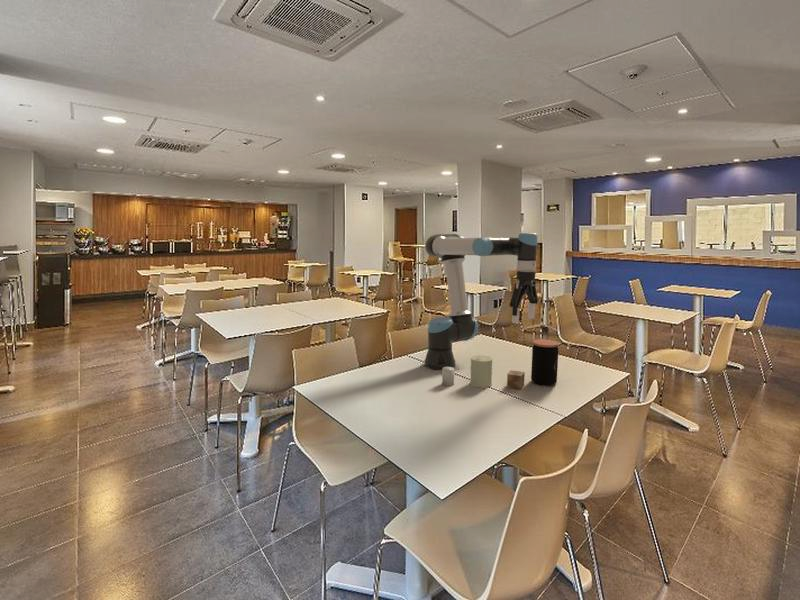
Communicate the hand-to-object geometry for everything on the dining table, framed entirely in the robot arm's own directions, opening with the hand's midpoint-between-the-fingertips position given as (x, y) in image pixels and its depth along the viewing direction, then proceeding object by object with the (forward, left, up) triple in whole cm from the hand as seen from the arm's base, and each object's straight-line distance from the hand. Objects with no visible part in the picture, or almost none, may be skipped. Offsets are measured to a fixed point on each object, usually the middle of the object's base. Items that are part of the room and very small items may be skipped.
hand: (523, 320), depth 183 cm
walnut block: (+1, -5, -28) cm, 28 cm away
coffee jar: (+7, +8, -28) cm, 30 cm away
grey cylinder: (-21, -23, -28) cm, 42 cm away
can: (-11, -13, -28) cm, 33 cm away
